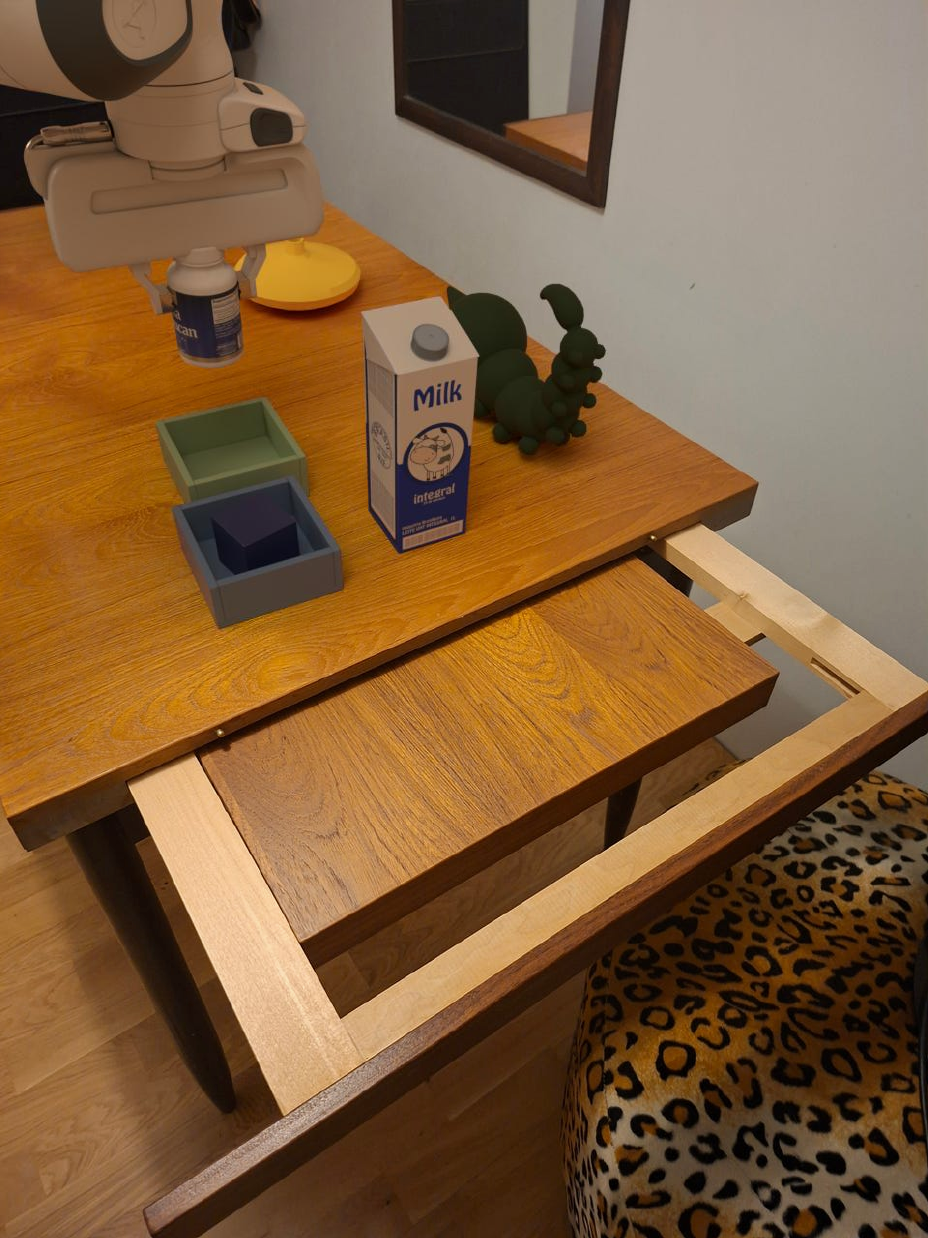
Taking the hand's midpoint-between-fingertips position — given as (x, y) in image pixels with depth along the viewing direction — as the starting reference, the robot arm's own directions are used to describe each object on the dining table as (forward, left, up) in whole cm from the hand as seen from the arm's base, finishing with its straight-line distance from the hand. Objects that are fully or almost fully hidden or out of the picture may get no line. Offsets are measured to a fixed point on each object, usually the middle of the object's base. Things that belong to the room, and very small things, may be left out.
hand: (206, 303), depth 70 cm
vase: (+19, +33, -18) cm, 42 cm away
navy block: (-2, -13, -17) cm, 22 cm away
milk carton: (+13, -13, -18) cm, 26 cm away
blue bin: (-2, -13, -18) cm, 22 cm away
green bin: (0, 0, -18) cm, 18 cm away
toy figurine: (+29, -1, -18) cm, 34 cm away
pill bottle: (0, 0, -5) cm, 5 cm away
